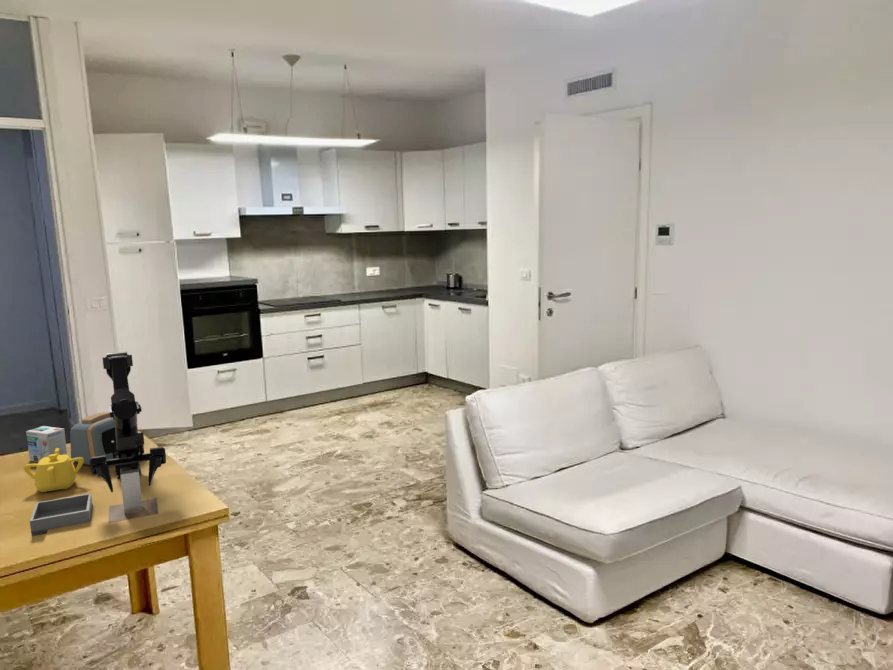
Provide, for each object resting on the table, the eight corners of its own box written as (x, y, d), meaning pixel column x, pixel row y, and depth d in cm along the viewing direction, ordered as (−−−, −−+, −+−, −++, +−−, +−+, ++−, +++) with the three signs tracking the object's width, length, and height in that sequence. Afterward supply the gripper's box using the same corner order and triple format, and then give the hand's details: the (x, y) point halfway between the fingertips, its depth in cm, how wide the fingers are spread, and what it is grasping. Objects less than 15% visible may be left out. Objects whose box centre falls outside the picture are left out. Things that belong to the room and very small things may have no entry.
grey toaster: (101, 469, 214) (96, 422, 211) (68, 463, 221) (63, 417, 218) (143, 454, 228) (139, 410, 226) (111, 448, 235) (107, 405, 233)
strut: (142, 505, 182) (138, 464, 180) (142, 511, 178) (138, 469, 176) (124, 508, 180) (120, 466, 178) (124, 514, 176) (120, 471, 174)
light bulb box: (28, 461, 224) (24, 430, 222) (47, 454, 230) (43, 425, 228) (50, 464, 220) (46, 433, 218) (68, 458, 226) (65, 428, 224)
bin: (92, 506, 184) (91, 493, 183) (90, 525, 172) (88, 510, 171) (38, 516, 178) (36, 502, 178) (31, 535, 166) (29, 521, 166)
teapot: (20, 491, 197) (16, 458, 195) (61, 476, 209) (57, 445, 207) (50, 497, 191) (46, 464, 190) (90, 482, 203) (86, 450, 201)
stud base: (156, 501, 187) (155, 487, 186) (158, 517, 176) (157, 502, 175) (109, 509, 182) (108, 496, 181) (108, 526, 171) (107, 512, 170)
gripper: (86, 428, 175) (88, 481, 167) (162, 418, 183) (167, 468, 174) (91, 448, 183) (93, 500, 175) (163, 438, 191) (168, 487, 183)
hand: (131, 488), depth 176 cm, fingers open, 9 cm apart
